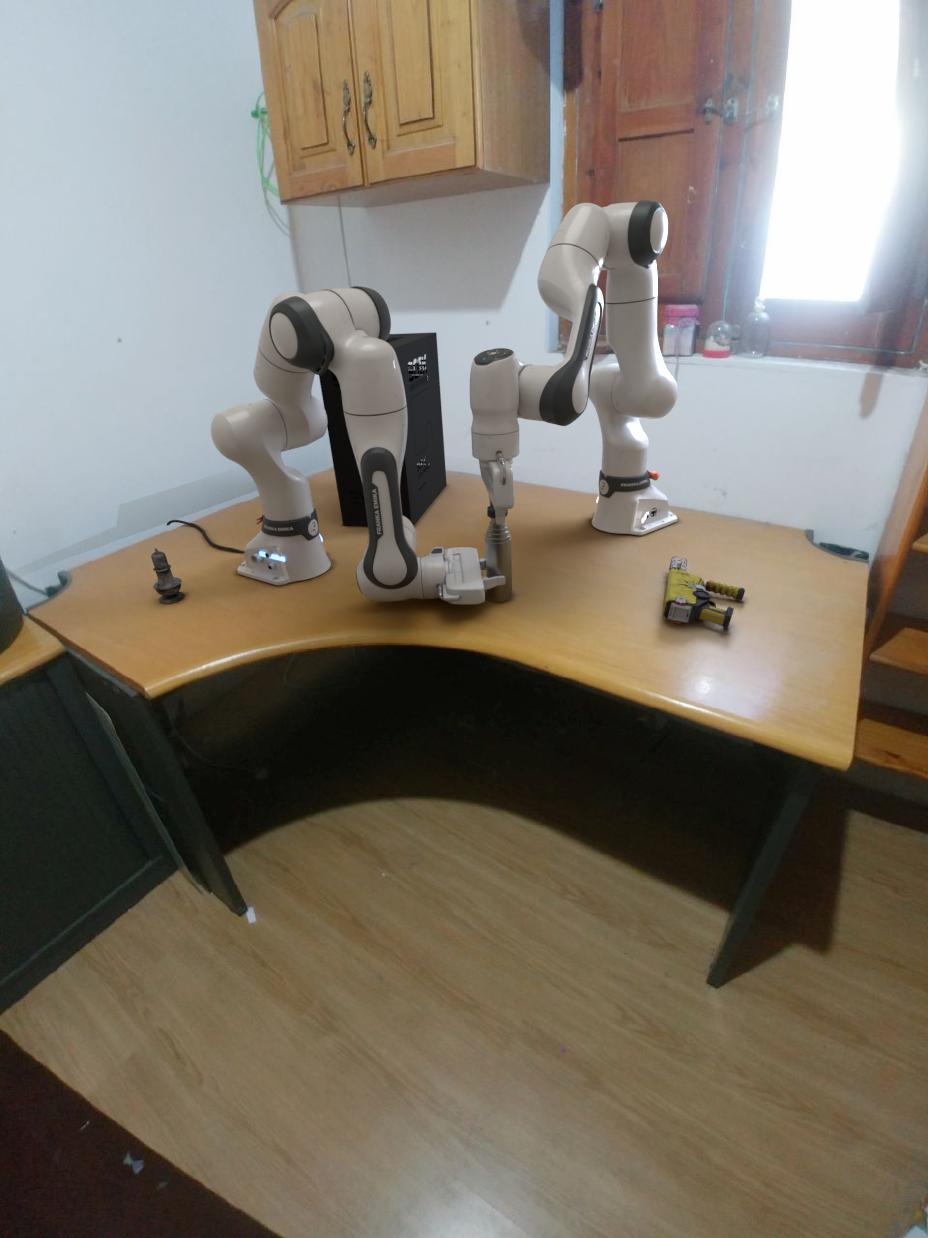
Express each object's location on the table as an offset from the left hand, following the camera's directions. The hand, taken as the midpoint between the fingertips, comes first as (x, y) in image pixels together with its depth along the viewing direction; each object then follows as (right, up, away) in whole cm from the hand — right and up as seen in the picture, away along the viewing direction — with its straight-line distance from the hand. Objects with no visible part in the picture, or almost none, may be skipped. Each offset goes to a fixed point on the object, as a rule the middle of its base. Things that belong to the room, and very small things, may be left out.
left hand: (503, 572), depth 125 cm
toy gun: (+40, -6, -4) cm, 41 cm away
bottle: (-1, -5, +3) cm, 6 cm away
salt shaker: (-73, -5, +10) cm, 74 cm away
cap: (-2, +12, -7) cm, 14 cm away
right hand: (-2, +11, -6) cm, 12 cm away
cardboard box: (-28, +25, +57) cm, 69 cm away
